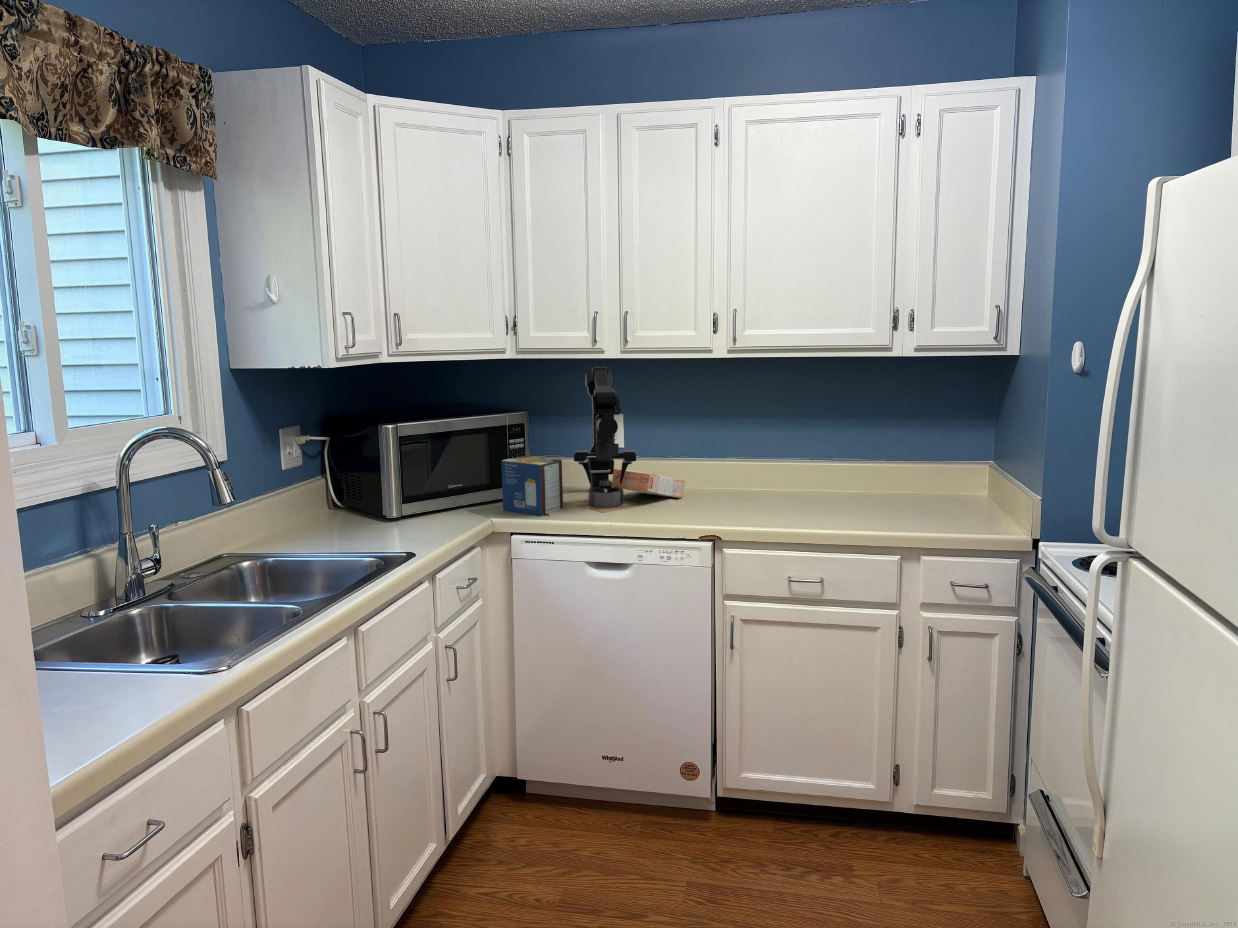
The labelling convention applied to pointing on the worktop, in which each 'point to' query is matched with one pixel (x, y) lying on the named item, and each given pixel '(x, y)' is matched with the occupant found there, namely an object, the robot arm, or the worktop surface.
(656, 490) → the cracker box
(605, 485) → the plunger
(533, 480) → the protein box
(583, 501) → the board
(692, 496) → the worktop surface
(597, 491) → the gray faceted ring
